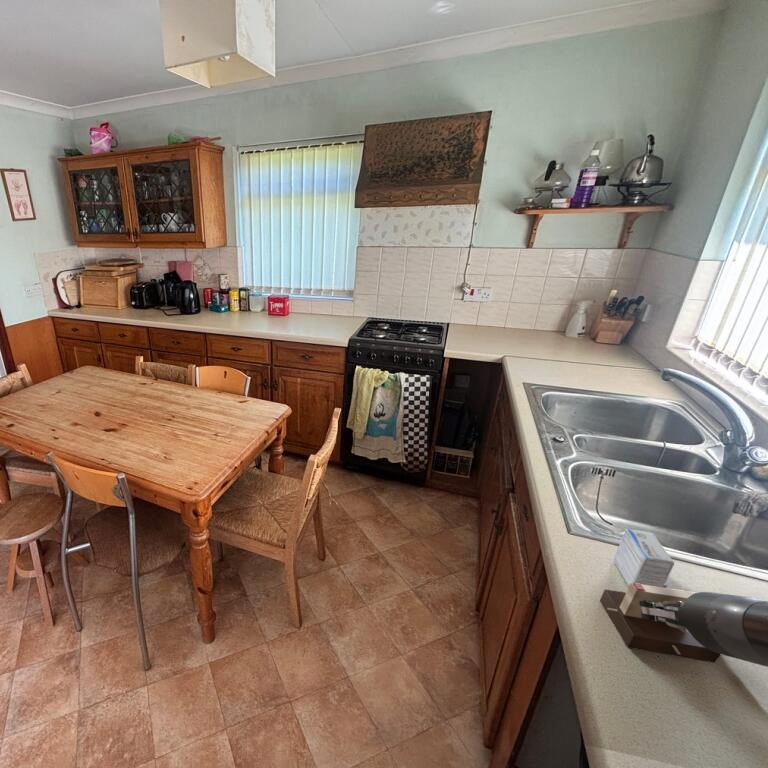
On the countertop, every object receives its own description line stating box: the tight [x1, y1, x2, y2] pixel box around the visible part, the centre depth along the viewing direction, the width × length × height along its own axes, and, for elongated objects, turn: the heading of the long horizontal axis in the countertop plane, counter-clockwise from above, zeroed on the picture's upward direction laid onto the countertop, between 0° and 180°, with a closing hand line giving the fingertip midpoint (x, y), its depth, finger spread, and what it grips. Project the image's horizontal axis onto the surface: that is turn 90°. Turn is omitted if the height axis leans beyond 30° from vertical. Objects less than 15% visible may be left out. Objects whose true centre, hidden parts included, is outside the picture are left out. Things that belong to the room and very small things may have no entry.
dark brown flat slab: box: [599, 584, 722, 664], centre depth 71 cm, size 14×13×3 cm
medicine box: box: [612, 528, 675, 588], centre depth 79 cm, size 8×4×9 cm, turn 161°
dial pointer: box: [620, 583, 696, 621], centre depth 69 cm, size 9×2×6 cm, turn 77°
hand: (648, 609), depth 68 cm, fingers closed
